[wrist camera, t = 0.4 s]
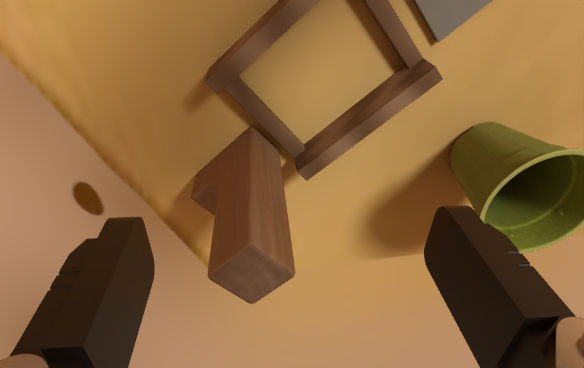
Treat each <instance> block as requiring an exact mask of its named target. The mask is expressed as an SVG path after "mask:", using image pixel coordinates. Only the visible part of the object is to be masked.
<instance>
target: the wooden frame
mask: <svg viewBox="0 0 584 368" xmlns="http://www.w3.org/2000/svg"><path fill="white" fill-rule="evenodd" d="M318 1H319V0H279V1H278V2H277V3H276V4H275V5H274V6H273V7H272V8H271V9H270V10H269V11H268V12H267V13H266V14H265V15H264V16H263V17H262V18H261V19H260V20H259V21H258V22H257V23H255V24H254V25H253V26H252V27H251V28H250V29H249V30H248V31H247V32H246V33H245V34H244V35H243V36H242V37H241V38H240V39H239V40H238V41H237V42H236V43H235V44H234V45H233V46H232V47H231V48H230V49H229V50H228V51H227V52H226V53H225V54H224V55H223V56H222V57H220V58H219V59H218V60H217V61H216V62H215V63H214V64H213V65H212V66H211V67H210V68H209V71H208V74H207V77H206V80H205V83H206V84H207V85H208V86H209V87H210V88H211V89H212V90H213V91H214V92H215V93H216V94H217V95H218V94H219V93H220V92H221V91H222V90H223V89H225V90H226V91H227V92H228V93H229V94H230V95H231V96H232V97H233V98H234V99H235V100H236V101H237V102H238V103H239V104H240V105H241V106H242V107H243V108H244V109H245V110H246V111H248V112H249V113H250V114H251V115H252V116H253V117H254V118H255V119H256V120H257V121H258V122H259V123H260V124H261V125H262V126H263V127H264V128H265V129H266V130H267V131H268V132H269V133H270V134H271V135H272V136H273V137H274V138H275V139H276V140H277V141H278V142H279V143H280V144H281V145H282V146H283V147H284V148H285V149H286V150H287V151H288V152H289V153H290V154H291V155H292V156H293V157H294V158H295V162H296V167H297V172H298V173H299V174H300V175H301V176H302V177H303V178H304V179H305V180H306V181H307V180H308V179H310V178H311V177H313V176H314V175H315V174H317V173H318V172H319V171H321V170H322V169H323V168H325V167H326V166H327V165H329V164H330V163H331V162H333V161H334V160H335V159H337V158H338V157H339V156H341V155H342V154H343V153H345V152H346V151H347V150H349V149H350V148H351V147H353V146H354V145H355V144H357V143H358V142H359V141H361V140H362V139H364V138H365V137H366V136H368V135H369V134H370V133H372V132H373V131H374V130H376V129H377V128H378V127H380V126H381V125H382V124H384V123H385V122H386V121H388V120H389V119H390V118H392V117H393V116H394V115H396V114H397V113H398V112H400V111H401V110H402V109H404V108H405V107H406V106H408V105H409V104H410V103H412V102H413V101H415V100H416V99H417V98H419V97H420V96H421V95H423V94H424V93H425V92H427V91H428V90H429V89H431V88H432V87H433V86H435V85H436V84H437V83H439V82H440V81H441V80H443V78H442V77H441V75H440V73H439V72H438V70H437V68H436V67H435V66H434V65H432V64H431V63H429V62H428V61H427V60H425V59H424V58H423V57H422V55H421V54H420V52H419V51H418V49H417V47H416V46H415V44H414V42H413V41H412V39H411V37H410V36H409V34H408V32H407V31H406V29H405V27H404V26H403V24H402V23H401V21H400V19H399V18H398V16H397V14H396V13H395V11H394V9H393V8H392V6H391V4H390V3H389V1H388V0H363V1H364V2H365V4H366V5H367V7H368V9H369V10H370V12H371V13H372V15H373V16H374V18H375V19H376V21H377V22H378V24H379V26H380V27H381V29H382V30H383V32H384V33H385V35H386V36H387V38H388V39H389V41H390V43H391V44H392V46H393V47H394V49H395V50H396V52H397V53H398V55H399V56H400V58H401V60H402V61H403V63H404V64H405V66H404V67H402V68H401V69H400V70H398V71H397V72H396V73H395V74H393V75H392V76H391V77H390V78H388V79H387V80H386V81H384V82H383V83H382V84H381V85H379V86H378V87H377V88H376V89H374V90H373V91H372V92H370V93H369V94H368V95H367V96H365V97H364V98H363V99H362V100H360V101H359V102H358V103H356V104H355V105H354V106H353V107H351V108H350V109H349V110H348V111H346V112H345V113H344V114H343V115H341V116H340V117H339V118H337V119H336V120H335V121H334V122H332V123H331V124H330V125H329V126H327V127H326V128H325V129H323V130H322V131H321V132H320V133H318V134H317V135H316V136H315V137H313V138H312V139H311V140H309V141H308V142H307V143H306V144H303V143H302V142H301V141H300V140H299V139H298V138H297V137H296V136H295V135H294V134H293V133H292V132H291V131H290V130H289V129H288V128H287V127H286V125H285V124H284V123H283V122H282V121H281V120H280V119H279V118H278V117H277V116H276V115H275V114H274V113H273V112H272V111H271V110H270V109H269V108H268V107H267V106H266V105H265V104H264V103H263V102H262V101H261V99H260V98H259V97H258V96H257V95H256V94H255V93H254V92H253V91H252V90H251V89H250V88H249V87H248V86H247V85H246V84H245V83H244V82H243V81H242V80H241V79H240V78H239V77H238V76H239V75H240V74H241V73H242V72H243V71H244V70H245V69H246V68H247V67H248V66H249V65H250V64H251V63H253V62H254V61H255V60H256V59H257V58H258V57H259V56H260V55H261V54H262V53H263V52H264V51H265V50H267V49H268V48H269V47H270V46H271V45H272V44H273V43H274V42H275V41H276V40H277V39H278V38H279V37H280V36H282V35H283V34H284V33H285V32H286V31H287V30H288V29H289V28H290V27H291V26H292V25H293V24H294V23H296V22H297V21H298V20H299V19H300V18H301V17H302V16H303V15H304V14H305V13H306V12H307V11H308V10H310V9H311V8H312V7H313V6H314V5H315V4H316V3H317V2H318Z"/></svg>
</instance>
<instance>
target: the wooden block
mask: <svg viewBox="0 0 584 368" xmlns="http://www.w3.org/2000/svg"><path fill="white" fill-rule="evenodd" d="M191 198H192V199H193V200H194V201H195V202H197V203H198V204H200V205H201V206H202V207H204V208H205V209H206V210H208V211H209V212H211V213H212V214H213V215H215V221H214V229H213V237H212V244H211V252H210V260H209V267H208V278H209V279H210V280H212V281H213V282H215V283H216V284H218V285H220V286H222V287H223V288H225V289H227V290H228V291H230V292H231V293H233V294H235V295H236V296H238V297H240V298H241V299H243V300H245V301H246V302H248V303H251V304H253V303H255V302H257V301H258V300H260V299H261V298H263V297H264V296H266V295H267V294H269V293H270V292H272V291H273V290H275V289H276V288H278V287H279V286H281V285H282V284H284V283H285V282H287V281H288V280H290V279H291V278H293V276H294V275H295V267H294V259H293V252H292V244H291V237H290V229H289V222H288V214H287V207H286V199H285V192H284V184H283V176H282V169H281V162H280V154H279V151H278V150H277V149H276V148H275V147H274V146H273V145H272V144H271V143H270V142H269V141H268V140H267V139H265V138H264V137H263V136H262V135H261V134H260V133H259V132H258V131H257V130H256V129H255V128H253V127H250V128H248V129H247V130H246V131H245V132H244V133H243V134H242V135H241V136H239V137H238V138H237V139H236V140H235V141H234V142H233V143H232V144H231V145H229V146H228V147H227V148H226V149H225V150H224V151H223V152H222V153H220V154H219V155H218V156H217V157H216V158H215V159H214V160H213V161H211V162H210V163H209V164H208V165H207V166H206V167H205V168H204V169H203V170H201V171H200V172H199V173H198V174H197V175H196V178H195V182H194V186H193V191H192V195H191Z"/></svg>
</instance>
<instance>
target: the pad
mask: <svg viewBox="0 0 584 368" xmlns="http://www.w3.org/2000/svg"><path fill="white" fill-rule="evenodd" d="M491 1H492V0H414V2H415V4H416V6H417V7H418V9H419V11H420V13H421V15H422V16H423V18H424V20H425V22H426V23H427V25H428V27H429V29H430V30H431V32H432V34H433V36H434V37H435V39H436V41H438V42H440V41H441V40H442V39H444V38H445V37H446V36H447V35H449V34H450V33H451V32H453V31H454V30H455V29H456V28H458V27H459V26H460V25H462V24H463V23H464V22H465V21H467V20H468V19H469V18H470V17H472V16H473V15H474V14H476V13H477V12H478V11H479V10H481V9H482V8H483V7H485V6H486V5H487V4H488V3H490V2H491Z"/></svg>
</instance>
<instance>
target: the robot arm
mask: <svg viewBox="0 0 584 368" xmlns="http://www.w3.org/2000/svg"><path fill="white" fill-rule="evenodd" d="M424 257H425V263H426V266H427V268H428V270H429V272H430V274H431V276H432V278H433V280H434V282H435V284H436V286H437V287H438V289H439V291H440V293H441V295H442V297H443V299H444V301H445V302H446V304H447V306H448V308H449V310H450V312H451V313H452V316H453V317H454V319H455V321H456V323H457V325H458V327H459V329H460V331H461V333H462V335H463V336H464V338H465V340H466V342H467V344H468V346H469V347H470V349H471V351H472V353H473V355H474V357H475V359H476V360H477V363H478V364H479V366H480V368H584V318H581V317H576V316H575V315H574V314H573V313H572V312H571V310H570V309H569V308H568V307H567V306H566V305H565V303H564V302H563V301H562V300H561V299H560V298H559V296H558V295H557V294H556V293H555V292H554V291H553V289H552V288H551V287H550V286H549V285H548V284H547V282H546V281H545V280H544V279H543V278H542V277H541V275H540V274H539V273H538V272H537V271H536V270H535V268H534V267H533V266H530V263H529V262H528V260H527V259H526V258H525V257H524V256H523V254H520V253H519V250H518V249H517V247H516V246H515V245H514V244H513V243H512V242H511V240H510V239H509V238H508V237H507V236H506V235H505V234H503V233H502V232H500V231H499V230H497V229H496V228H495V227H493V226H492V225H490V224H489V223H484V222H483V221H482V220H481V219H480V217H479V216H478V215H477V214H476V212H475V211H474V210H473V209H472V208H471V207H469V206H447V207H440V208H438V209H437V211H436V213H435V216H434V219H433V223H432V226H431V229H430V232H429V235H428V238H427V241H426V244H425V249H424ZM153 279H154V258H153V254H152V250H151V247H150V243H149V240H148V236H147V232H146V228H145V224H144V221H143V219H142V218H141V217H122V218H109V219H108V220H107V221H106V223H105V224H104V226H103V228H102V230H101V232H100V234H99V236H98V238H96V239H86V240H85V241H84V242H83V243H82V244H81V245H79V246H78V247H77V248H76V249H75V250H74V251H73V252H71V253H70V254H69V256H68V257H67V259H66V261H65V263H64V264H63V266H62V268H61V269H60V271H59V275H58V276H56V278H55V280H54V281H53V283H52V285H51V287H50V288H51V289H50V291H48V292H47V293H46V295H45V297H44V299H43V300H42V302H41V304H40V305H39V307H38V309H37V311H36V313H35V314H34V316H33V318H32V319H31V321H30V323H29V324H28V326H27V328H26V330H25V331H24V333H23V335H22V336H21V338H20V340H19V342H18V343H17V345H16V347H15V348H14V350H13V352H12V353H11V355H10V356H9V357H8V358H5V359H2V360H0V368H128V366H129V362H130V359H131V355H132V352H133V348H134V345H135V341H136V338H137V335H138V331H139V328H140V325H141V321H142V318H143V314H144V311H145V307H146V304H147V300H148V297H149V294H150V290H151V286H152V283H153Z"/></svg>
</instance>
